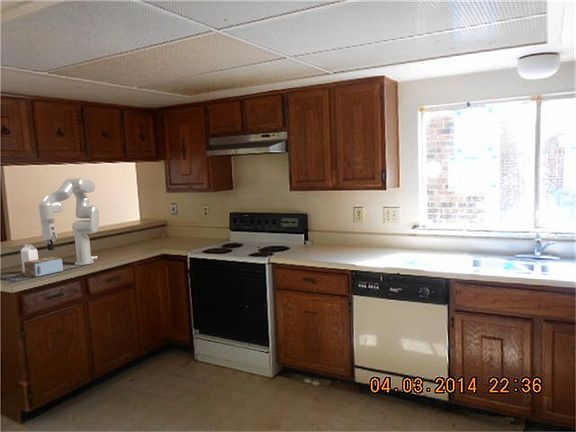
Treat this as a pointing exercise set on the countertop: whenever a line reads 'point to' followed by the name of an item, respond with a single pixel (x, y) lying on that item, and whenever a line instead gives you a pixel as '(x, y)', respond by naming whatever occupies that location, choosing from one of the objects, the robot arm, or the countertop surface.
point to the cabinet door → (48, 267)
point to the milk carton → (28, 254)
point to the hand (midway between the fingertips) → (51, 249)
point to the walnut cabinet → (31, 269)
